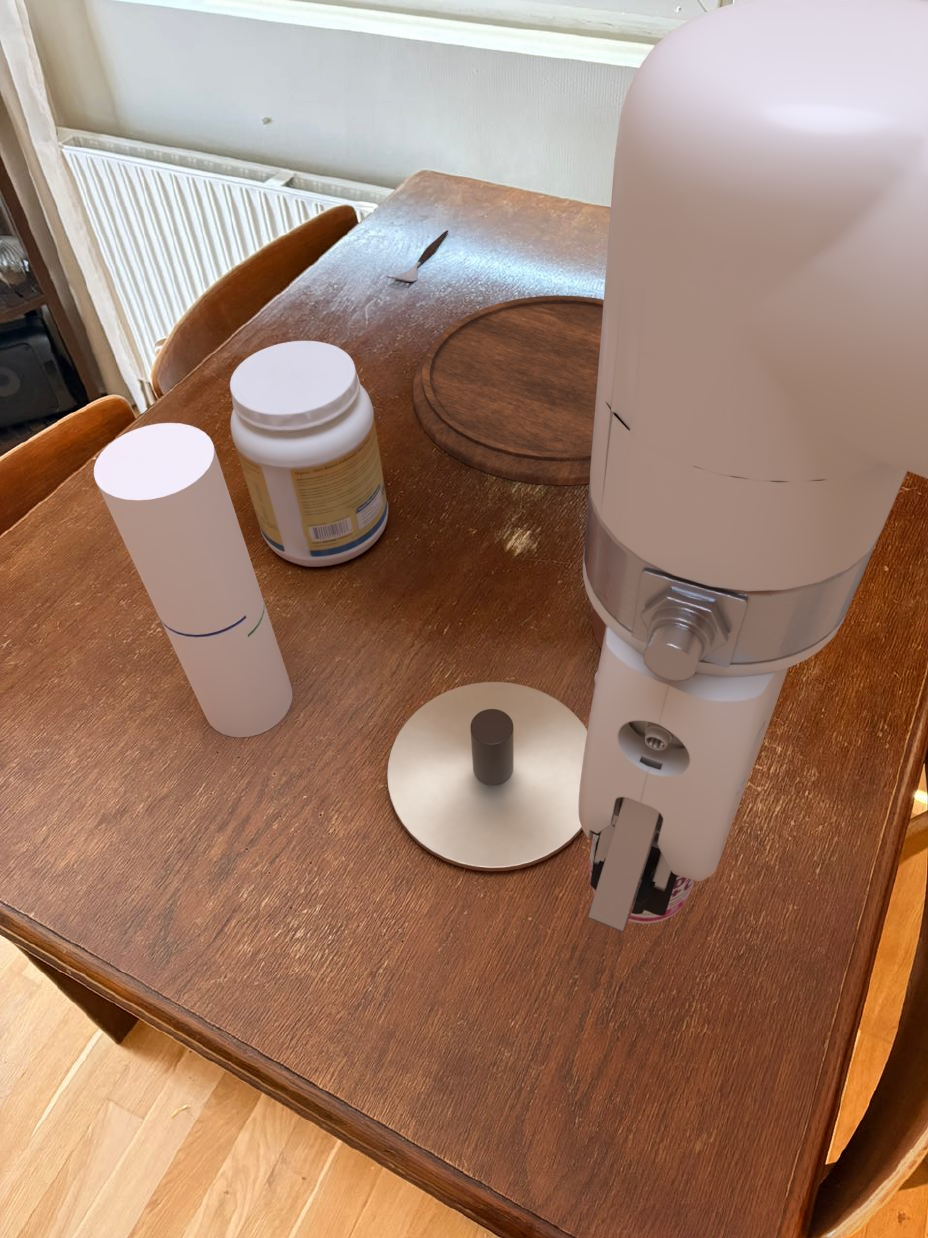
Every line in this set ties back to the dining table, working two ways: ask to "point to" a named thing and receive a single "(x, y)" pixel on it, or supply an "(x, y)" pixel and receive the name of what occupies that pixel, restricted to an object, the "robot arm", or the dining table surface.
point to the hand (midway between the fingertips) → (649, 837)
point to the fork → (420, 260)
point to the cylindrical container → (197, 572)
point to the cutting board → (516, 389)
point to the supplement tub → (309, 452)
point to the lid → (489, 776)
